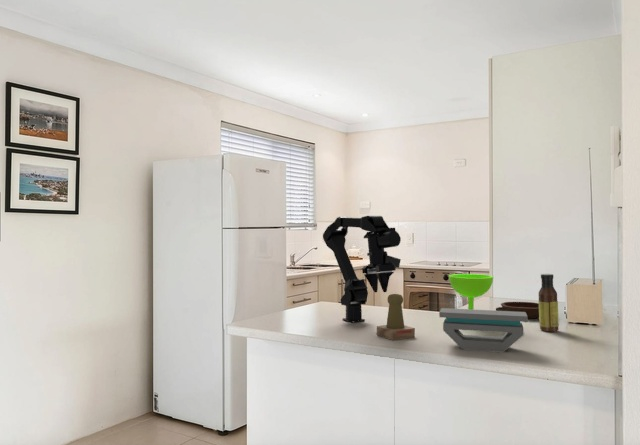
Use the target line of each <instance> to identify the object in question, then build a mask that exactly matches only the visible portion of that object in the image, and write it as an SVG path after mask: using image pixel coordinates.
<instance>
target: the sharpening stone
mask: <svg viewBox="0 0 640 445" xmlns="http://www.w3.org/2000/svg"><path fill="white" fill-rule="evenodd" d="M439 318H444V320H443V323H442V326H443V328H442V330H443V332H444V333H445V334H446V335H447V336H448V337H449V338H450V339H451V340H452V341H453V342H454V343H455V344H456V345H457V346H458V347H459V348H460V349H461V350H465V351H477V352H478V351H481V352H492V351H495V352H494V353H504V352H505V351H506V350H508V349H509V348H510V347H512V346H513V344H515V343H516V341H518V340H519V339H521V338H522V337H524V325H523V323H522V322H525V323H526V322H527V323H528V316H527V314H526V312H515V311H496V310H490V309H474V310H471V309H468V308H465V309H464V308H451V307H450V308H447V307H446V308H445V307H441V308H440V310H439ZM462 330H463V331H477V332H494V333H495V332H496V333H505V334H503V335H502V336H491V335H490V336H488V335H474V334H463V332H462Z"/></svg>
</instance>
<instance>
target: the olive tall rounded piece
mask: <svg viewBox="0 0 640 445" xmlns="http://www.w3.org/2000/svg"><path fill="white" fill-rule="evenodd" d="M403 302H404V297H403V295H402V294H399V293H391V294H389V295H388V296H387V303H388V312H387V318H386V324H385V325H386V327H387V328H391V329H402V328H404V325H405V321H404V320H405V319H404V312H403V307H402V306H403V305H402V304H403Z"/></svg>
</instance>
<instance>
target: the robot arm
mask: <svg viewBox="0 0 640 445" xmlns="http://www.w3.org/2000/svg"><path fill="white" fill-rule="evenodd" d="M340 228H341V229H340ZM349 228H359V229H361V230H363V231H365V232H366V233H365V235H363V239H367V247H368V252H367V254H366V255H367V257H368V259H369V264H367V265H363V267H362V268H361V271H362V274H363V275H364V277H365V278H366V279H367V282H368V283H369V285H370V287H371V288H372V290H373V292H374V293H378V288H379V287H378V286H379V285H380V288H381V291H382V292H383V293H387V291H388V287H389V281H390V278H391V276H392V275H393V274H394V273H395V271H397V268H398V269H399V268H400V264H401V260H402V259H401V258H397V257H396V256H395V257H394V256H391V255H388V252H387V251H385V249H388V248H395V247H396V248H397V247H398V246H399V245H400V244H401V239H402V238H401V236H400V234H399V232H398V231H396V227H389V225H388V224H387V222H386V221H385V219H384V217H383V216H382V215H365V216H361V217H348V216H337V217H336V218H335V220H334V221H333V222H331V224H329V225H327V227H326V228H325V230H324V232H323V234H322V239H323V241H324V243H325V245H326V246H327V247H328V249H330V250H331V251H333V254H334V257H335V260H336V262H337V265H338V267H339V269H340V273H341V275H342V277H343V280H344V286H343V289H344V290H343V291H344V294H343V295H342V296H341V298H340V304H341V306H345V317H342V320H343V321H345V322H348V323H357V322H365V320H366V319H364V318H362V314H363V312H362V311H363V310H362V305H366V303H367V300H368V297H369V292H368V291H369V290H368V287H367V285H366V281H365V280H364V279H363V278H362V279H359V278H358V277H357V274H356V271H355V270H354V269H355V268H354V266H353V264H352V261H351V259H350V257H349V254H348V252H347V249H346V246H345V245H346V241H347V239H346V236H347V234H348V232H349Z"/></svg>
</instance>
